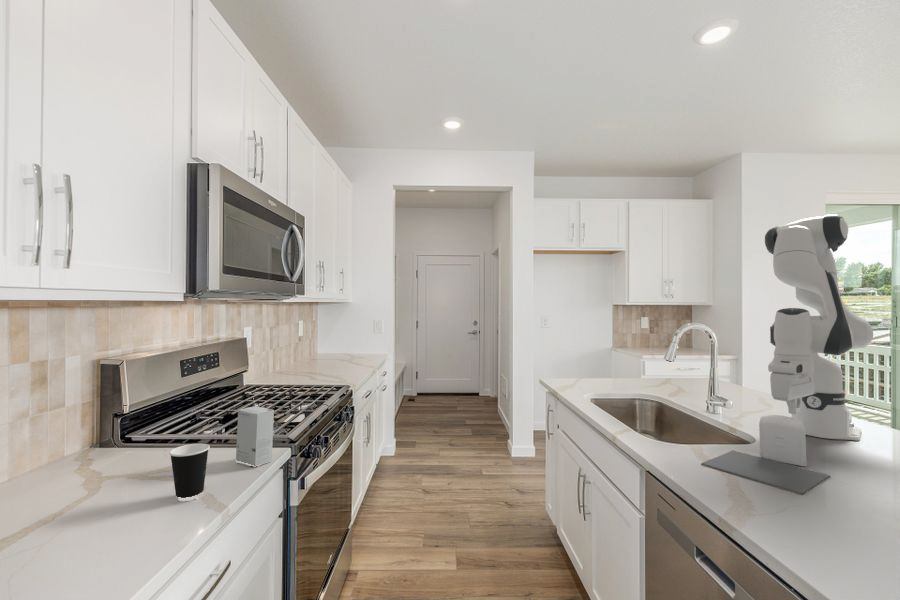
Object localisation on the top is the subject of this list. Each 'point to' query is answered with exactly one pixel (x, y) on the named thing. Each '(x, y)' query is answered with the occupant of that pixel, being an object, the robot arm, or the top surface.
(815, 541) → the top surface
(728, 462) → the mat
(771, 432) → the photo printer
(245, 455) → the skincare box
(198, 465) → the dixie cup
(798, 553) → the top surface
